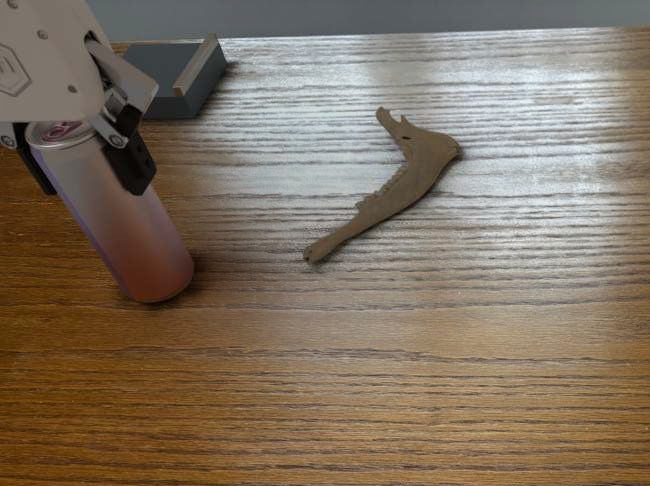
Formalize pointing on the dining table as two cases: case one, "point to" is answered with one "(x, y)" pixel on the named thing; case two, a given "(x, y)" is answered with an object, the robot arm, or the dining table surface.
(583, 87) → the dining table surface
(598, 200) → the dining table surface
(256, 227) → the dining table surface
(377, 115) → the jawbone
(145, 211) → the beverage can
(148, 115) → the grey ledged base
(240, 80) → the dining table surface
